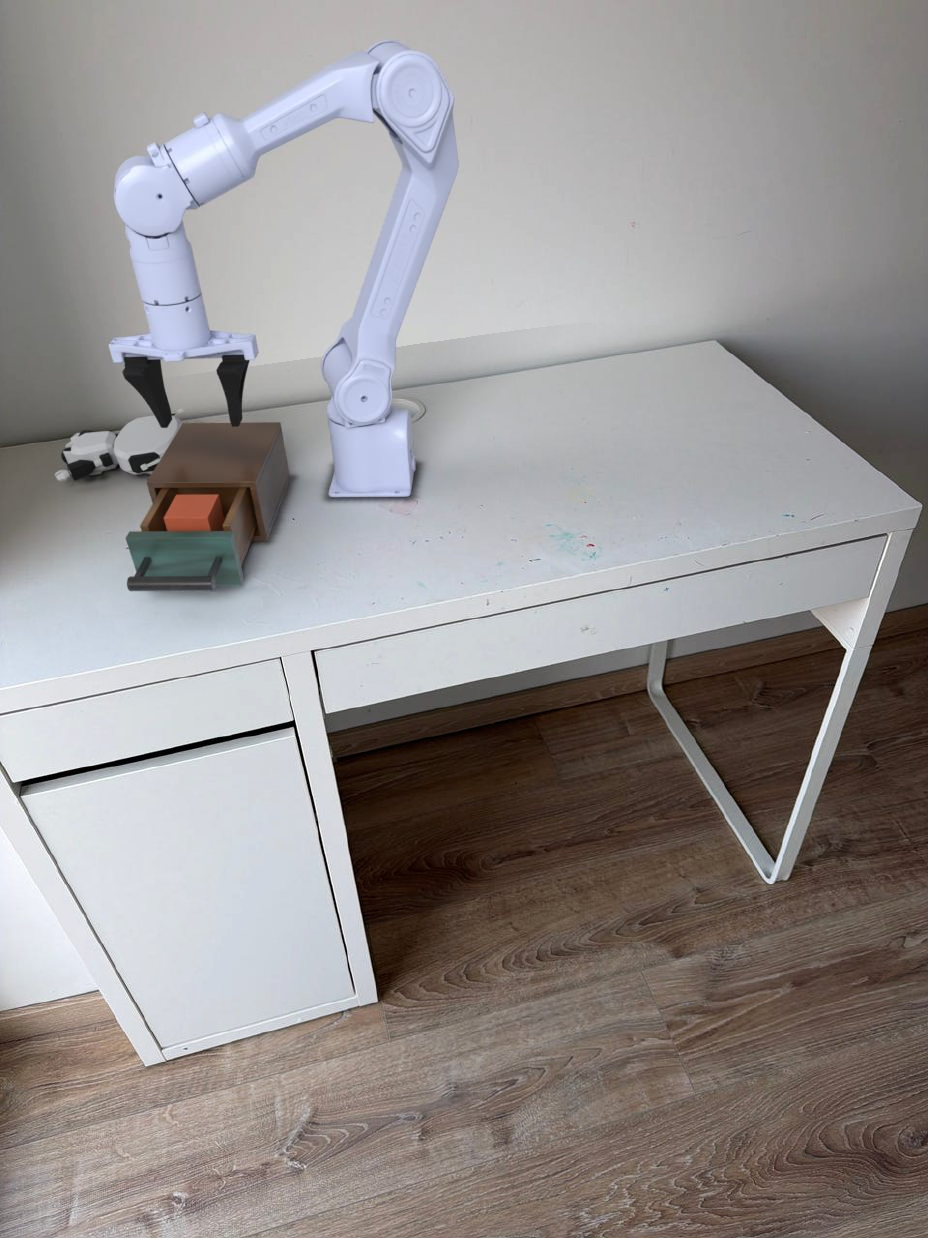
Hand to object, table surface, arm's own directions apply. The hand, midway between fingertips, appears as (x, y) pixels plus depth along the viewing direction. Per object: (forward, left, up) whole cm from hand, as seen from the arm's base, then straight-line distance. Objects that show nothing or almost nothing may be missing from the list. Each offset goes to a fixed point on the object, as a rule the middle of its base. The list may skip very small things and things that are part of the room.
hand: (202, 423), depth 95 cm
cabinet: (-1, +1, -10) cm, 10 cm away
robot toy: (+14, -9, -11) cm, 20 cm away
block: (-1, +11, -8) cm, 14 cm away
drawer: (-1, +12, -10) cm, 16 cm away
